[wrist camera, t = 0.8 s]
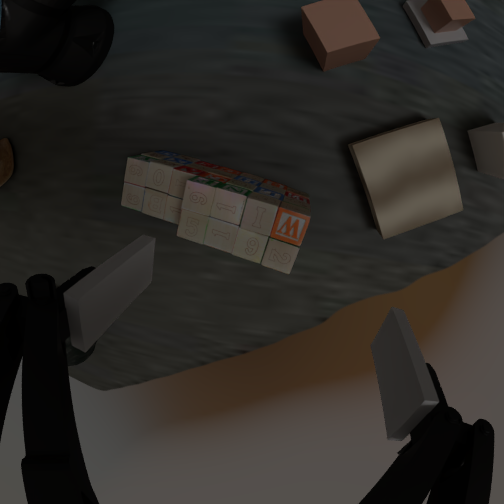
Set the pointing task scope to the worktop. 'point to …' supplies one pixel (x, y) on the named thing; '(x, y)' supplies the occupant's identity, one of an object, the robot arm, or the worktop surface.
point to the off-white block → (489, 149)
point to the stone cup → (6, 161)
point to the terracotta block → (338, 32)
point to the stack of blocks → (220, 206)
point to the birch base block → (407, 176)
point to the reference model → (439, 20)
